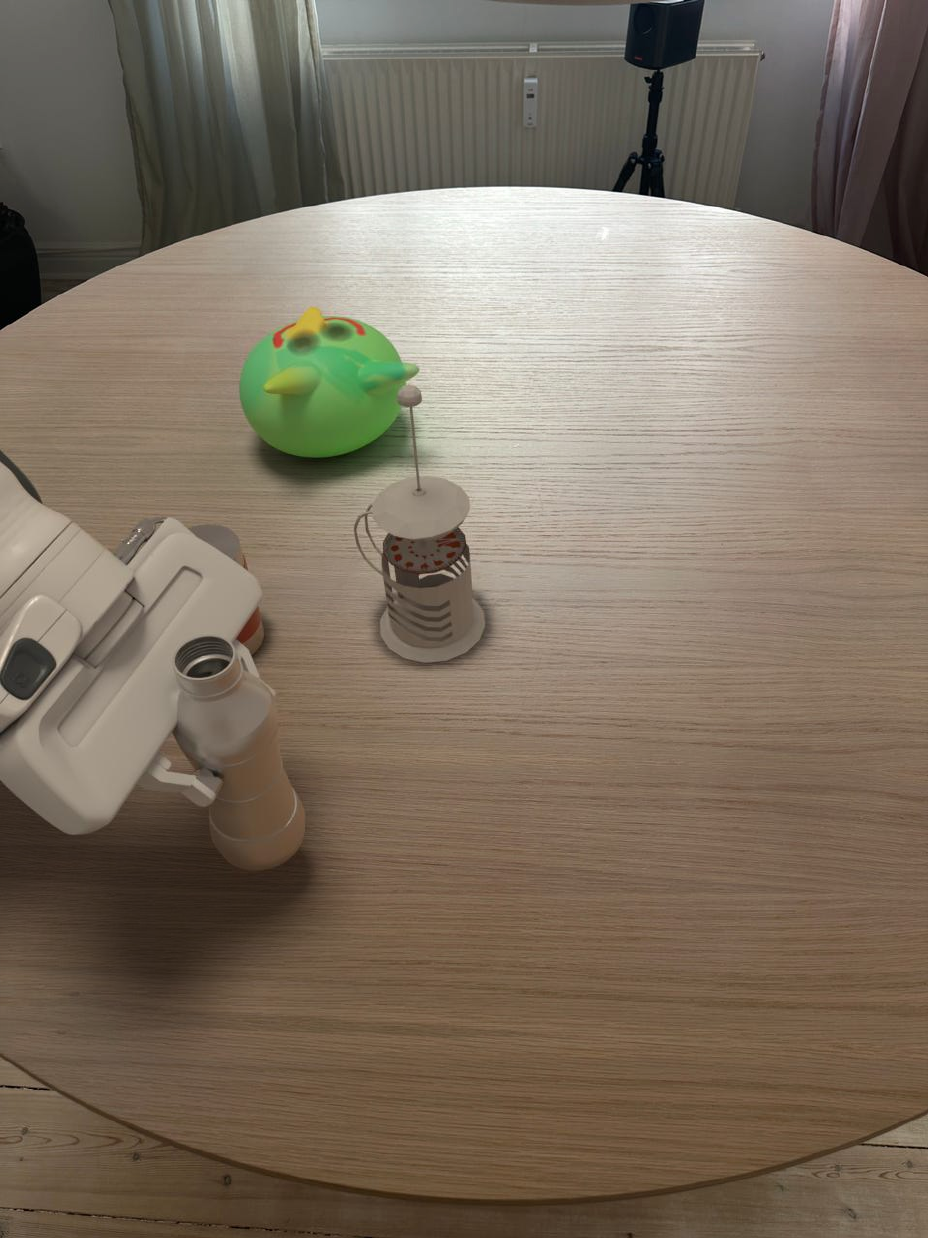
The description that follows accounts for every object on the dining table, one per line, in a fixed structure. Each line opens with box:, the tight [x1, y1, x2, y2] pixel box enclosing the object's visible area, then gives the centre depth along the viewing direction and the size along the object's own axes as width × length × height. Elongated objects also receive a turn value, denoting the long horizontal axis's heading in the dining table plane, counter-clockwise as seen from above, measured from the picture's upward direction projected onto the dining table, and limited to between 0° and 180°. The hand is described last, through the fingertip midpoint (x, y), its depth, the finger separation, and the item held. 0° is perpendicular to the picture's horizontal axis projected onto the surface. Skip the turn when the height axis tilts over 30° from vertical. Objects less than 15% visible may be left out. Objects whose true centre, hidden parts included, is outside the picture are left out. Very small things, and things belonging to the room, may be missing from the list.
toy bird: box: [238, 306, 420, 458], centre depth 106 cm, size 18×17×15 cm
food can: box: [186, 523, 265, 657], centre depth 86 cm, size 7×7×11 cm
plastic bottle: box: [171, 635, 307, 872], centre depth 64 cm, size 6×7×20 cm
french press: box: [353, 384, 486, 664], centre depth 82 cm, size 10×12×25 cm
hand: (241, 750), depth 63 cm, fingers closed on plastic bottle, 6 cm apart
